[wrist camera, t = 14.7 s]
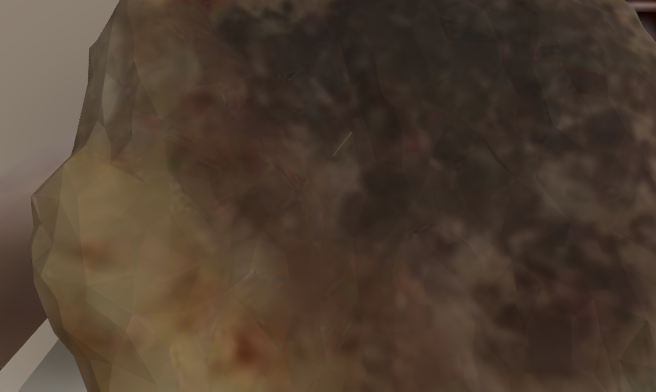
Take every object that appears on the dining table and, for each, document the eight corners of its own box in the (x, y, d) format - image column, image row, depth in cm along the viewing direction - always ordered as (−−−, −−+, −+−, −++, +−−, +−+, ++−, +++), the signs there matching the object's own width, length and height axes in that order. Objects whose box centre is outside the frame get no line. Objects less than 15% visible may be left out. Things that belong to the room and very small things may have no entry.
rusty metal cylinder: (387, 263, 23) (767, -23, 4) (350, 379, 20) (937, 1047, 1) (282, 222, 23) (196, -196, 5) (233, 328, 21) (-416, 354, 2)
